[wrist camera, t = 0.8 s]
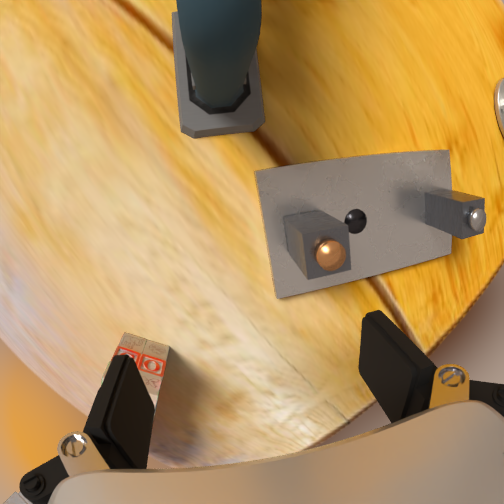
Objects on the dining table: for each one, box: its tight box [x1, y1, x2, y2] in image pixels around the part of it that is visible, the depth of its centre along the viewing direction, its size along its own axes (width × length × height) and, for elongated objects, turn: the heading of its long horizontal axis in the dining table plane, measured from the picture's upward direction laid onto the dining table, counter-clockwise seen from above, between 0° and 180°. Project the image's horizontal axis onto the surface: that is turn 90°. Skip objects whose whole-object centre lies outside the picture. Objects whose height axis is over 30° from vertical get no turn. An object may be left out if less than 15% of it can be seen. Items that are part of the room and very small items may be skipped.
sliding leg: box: [284, 210, 351, 280], centre depth 27 cm, size 4×4×8 cm
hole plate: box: [254, 150, 452, 299], centre depth 32 cm, size 25×14×1 cm, turn 100°
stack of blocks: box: [102, 333, 170, 421], centre depth 31 cm, size 21×6×12 cm, turn 159°
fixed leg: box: [424, 189, 486, 239], centre depth 28 cm, size 4×4×8 cm
